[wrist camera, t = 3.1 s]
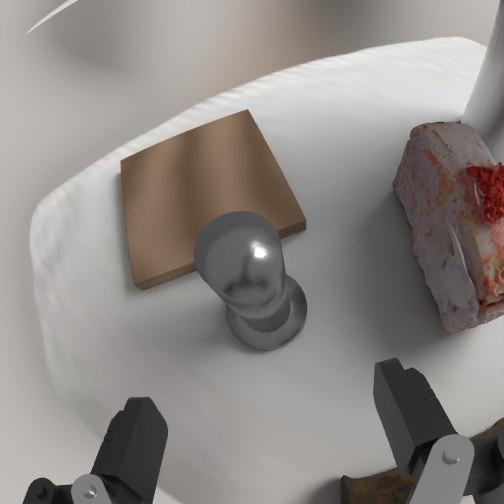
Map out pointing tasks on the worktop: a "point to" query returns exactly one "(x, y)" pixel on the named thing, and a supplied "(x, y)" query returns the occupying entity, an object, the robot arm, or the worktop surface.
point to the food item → (455, 220)
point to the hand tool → (390, 482)
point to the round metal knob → (251, 279)
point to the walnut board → (199, 193)
